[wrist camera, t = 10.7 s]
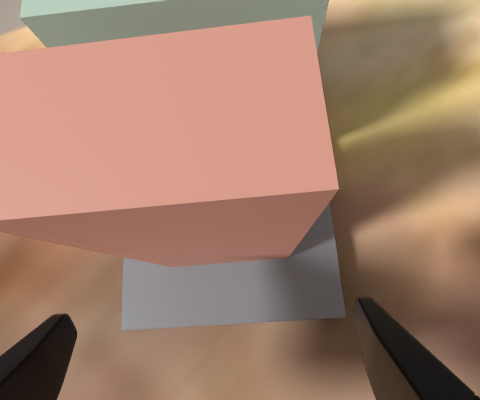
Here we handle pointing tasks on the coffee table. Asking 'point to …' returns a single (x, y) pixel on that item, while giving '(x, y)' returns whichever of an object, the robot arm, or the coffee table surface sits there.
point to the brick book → (169, 144)
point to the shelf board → (238, 288)
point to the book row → (154, 17)
